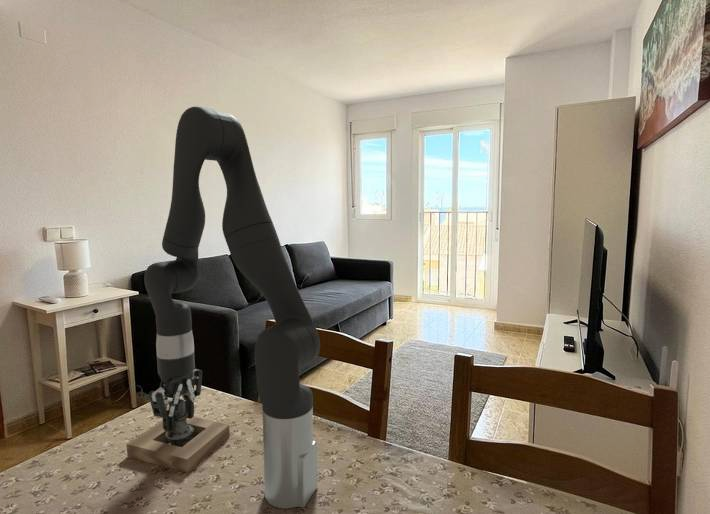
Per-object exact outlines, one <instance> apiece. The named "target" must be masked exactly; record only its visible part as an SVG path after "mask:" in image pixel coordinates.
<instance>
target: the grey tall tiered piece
mask: <svg viewBox="0 0 710 514" xmlns="http://www.w3.org/2000/svg"><path fill="white" fill-rule="evenodd" d="M180 397H181V396H180ZM180 397H179V399H178V404H177V405H175V408H174V413H173V415H174V427H175V430H174V431H173V432H166V437H167V439H168V444H171V445H175V446H179V447H183V446H184V445H185V444H187V443H188V442H189V441H190V440H192V438H193V437H192V434H193V432H194V428H193V427H192V426H190V425H187V419H186V417H187V416H188V414H187V412H186V407H185V400H184V399H183V398H182V399H181V398H180Z"/></svg>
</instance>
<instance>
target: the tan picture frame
mask: <svg viewBox="0 0 710 514" xmlns="http://www.w3.org/2000/svg"><path fill="white" fill-rule="evenodd" d="M186 419H187V425H190V426H192V427H193V428H194V432H193V434H192V437H191V439H190V441H189V442H188V443H187V444H185V445H184V446H183V447H179V446H175V445H171V444H170V443H169V441H168V439H167V437H166V432H167V431H165V430H164V429H163V420H161V421H159V422H157V423H156V424H155V425H153V426H151V428H148V429H147V430H145V431H144V432H143V433H141V434H140V435H138V436H137V437H134V439H132V440H130V441H129V442H127V443H126V455H127V457H128V458H131V459H135V460H138V461H141V462H145V463H149V464H153V465H157V466H161V467H163V468H167V469H172V470H175V471H180V472H183V473H187V474H188V473H189V472H191V471H192V470H193V469H194V468H196V467H197V466H198V465H199V464H200V463H201V462H202V461H204V459H206V458H207V457H209V455H210V454H212V452H214V451H215V450H216V449H217V448H218V447H220V446H221V445H222V444H223V443H224V442H226V440H228V438H230V434H231V433H230V424H228V423H222V422H219V421H215V420H211V419H210V420H208V419H206V418H200V417H196V416H194V417H193V418H191V419H189V418H186Z"/></svg>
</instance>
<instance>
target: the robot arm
mask: <svg viewBox="0 0 710 514" xmlns="http://www.w3.org/2000/svg"><path fill="white" fill-rule="evenodd" d="M174 146H175V147H174V159H173V160H174V161H173V168H172V169H173V170H172V171H173V174H172V175H173V176H172V188H171V189H172V191H171V200H170V208H169V213H168V215H167V221H166V224H165V228H164V232H163V237H162V240H161V241H162V242H161V248H162V250H163V251H164V252H165V253H166V254H167V255H169V256H172V257H175V259H174V260H166V261H158V262H154V263H151V264H150V265H148V266H147V268H146V270H145V272H144V276H143V277H144V278H143V281H144V282H143V283H144V287H145V290H146V292H147V294H148V298H149V300H150V302H151V306H152V309H153V311H154V314H155V325H156V342H155V347H156V362H157V364H156V365H157V375H158V376H159V378H160V384H159V388H158V389H156V390H155V391H154V390H151V391H149V393H148V397H149V401H150V405H151V410H152V414H153V416H154V417H158V418H162V421H163V429H164V430H165V431H167V432H173V431H174V430H175V427H174V415H173V413H174V408H175V405H177V404H178V399H180V398H179V397H182V400H184V401H185V407H186V412H187V414H188V416H187V417H186V418H189V419H191V418H193V417H195V401H196V400H197V397H200V396H201V394H202V383H203V382H202V381H203V380H202V379H203V370H202V369H197V368H196V362H195V361H196V360H195V342H194V339H195V338H194V335H193V322H192V321H193V319H192V309H191V306H190V305H188V304H187V303H186V302H174V300H173V298H172V295H173V294H178V293H184V292H187V291H189V290H192V289H193V288H194V287H195V285H196V284H197V282H198V280H199V274H200V273H199V269H200V268H199V246H200V243H201V240H202V237H203V232H204V229H205V224H206V210H205V206H204V202H203V197H202V195H201V191H200V175H201V170H202V167H203V165H204V162H205V160H206V161H215V162H217V163H218V165H219V167H220V170H221V172H222V176H223V178H224V183H225V186H226V198H225V204H224V209H223V215H222V224H221V227H222V234H223V236H224V240H225V242H226V245H227V248H228V250H229V254H230V257H231V259H232V261H233V263H234V265H235V267H236V268H237V269H238V270H239V271H240V273H241V274H242V275H243V276H244V277H245V278H246V279H247V280H248V281H249V282H250V283H251V284H252V286H254V287H255V288H256V289H257V290H258V291H259V292H260V294H261V295H262V296H263V297H264V299H265V301H266V302H267V304H268V305H269V308H270V310H271V312H272V313H271V314H272V316H273V318H274V321H275V324H273V325H272V326H269V327H267V328H265V329H263V330H262V331H261V332H260V333H259V335H258V337H257V338H256V341H255V346H254V347H255V348H254V363H255V365H254V366H255V375H256V376H255V377H256V387H257V393H258V395H259V398H260V401H261V404H262V405H261V406H262V407H261V408H262V412H261V413H262V445H263V446H262V448H263V449H262V450H263V453H262V454H263V479H264V480H263V481H264V482H263V486H264V487H263V488H264V490H263V491H264V498H265V501H266V502H267V503H268V504H269V505H271V506H272V507H275V508H278V509H292V508H293V509H294V508H296V507H299V508H302V509H303V508H305V507H306V505H307V503H308V502H309V500H310V499H311V498H312V496H313V495H314V493H315V491H316V490H317V488H318V442H317V441H316V440H314V427H313V426H314V424H313V423H314V421H313V419H314V416H313V415H314V411H313V410H314V409H313V408H314V395H313V392H312V389H311V388H310V387H309V386H307V385H306V384H302V383H300V370H302V369H304V368H305V367H306V366H308V365H310V364H311V363H313V362H314V361H315V360H316V359H317V358H318V356H319V354H320V349H321V340H320V336H319V335H320V334H319V332H318V330H317V327H316V325H315V322H314V321H313V318H312V316H311V314H310V312H309V310H308V308H307V306H306V304H305V301H304V300H303V298H302V295H301V294H300V291H299V290H298V286H297V284H296V282H295V280H294V277H293V274H292V272H291V270H290V267H289V264H288V262H287V259H286V257H285V254H284V251H283V248H282V245H281V242H280V239H279V236H278V233H277V231H276V227H275V225H274V222H273V220H272V217H271V215H270V214H269V210H268V207H267V205H266V201H265V199H264V196H263V193H262V190H261V187H260V183H259V181H258V178H257V176H256V171H255V167H254V165H253V164H254V163H253V160H252V155H251V153H250V147H249V144H248V140H247V137H246V134H245V130H244V128H243V126H242V124H241V122H240V121H239V120H238V119H237V118H236V117H235V116H234V115H232V114H230V113H228V112H224V111H221V110H220V111H219V110H215V109H211V108H207V107H201V106H191V107H188V108H187V109H186V110H184V111H183V113H182V114H181V115H180V118H179V121H178V124H177V129H176V135H175V145H174ZM168 398H169V399H168ZM168 405H169V406H168Z"/></svg>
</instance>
